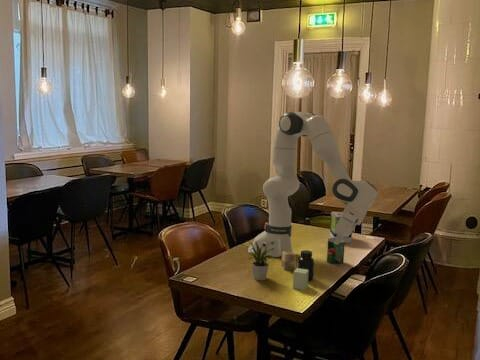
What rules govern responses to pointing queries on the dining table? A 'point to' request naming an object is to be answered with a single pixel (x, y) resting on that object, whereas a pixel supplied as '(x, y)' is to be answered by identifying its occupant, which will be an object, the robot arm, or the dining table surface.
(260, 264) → the house plant
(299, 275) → the sage block
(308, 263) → the supplement bottle
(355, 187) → the robot arm
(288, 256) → the oak block
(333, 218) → the tea box
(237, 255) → the dining table surface
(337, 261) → the canned tomato
